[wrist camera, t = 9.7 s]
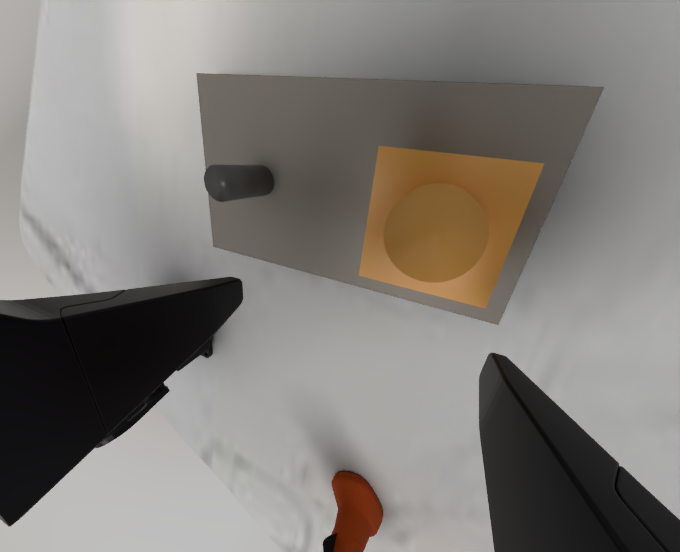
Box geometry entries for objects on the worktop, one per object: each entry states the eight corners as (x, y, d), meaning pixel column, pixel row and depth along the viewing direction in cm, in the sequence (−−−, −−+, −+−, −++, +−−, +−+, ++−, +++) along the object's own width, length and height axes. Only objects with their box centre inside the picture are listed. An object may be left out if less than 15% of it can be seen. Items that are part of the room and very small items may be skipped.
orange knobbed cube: (381, 248, 17) (350, 285, 11) (400, 152, 14) (370, 143, 9) (475, 268, 15) (489, 323, 10) (512, 164, 13) (557, 162, 8)
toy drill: (310, 401, 26) (192, 657, 13) (392, 510, 31) (363, 766, 19) (275, 405, 28) (147, 627, 16) (357, 506, 33) (310, 730, 21)
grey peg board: (230, 240, 24) (170, 261, 19) (219, 81, 19) (133, 49, 14) (493, 309, 18) (511, 368, 12) (583, 97, 13) (675, 49, 7)
